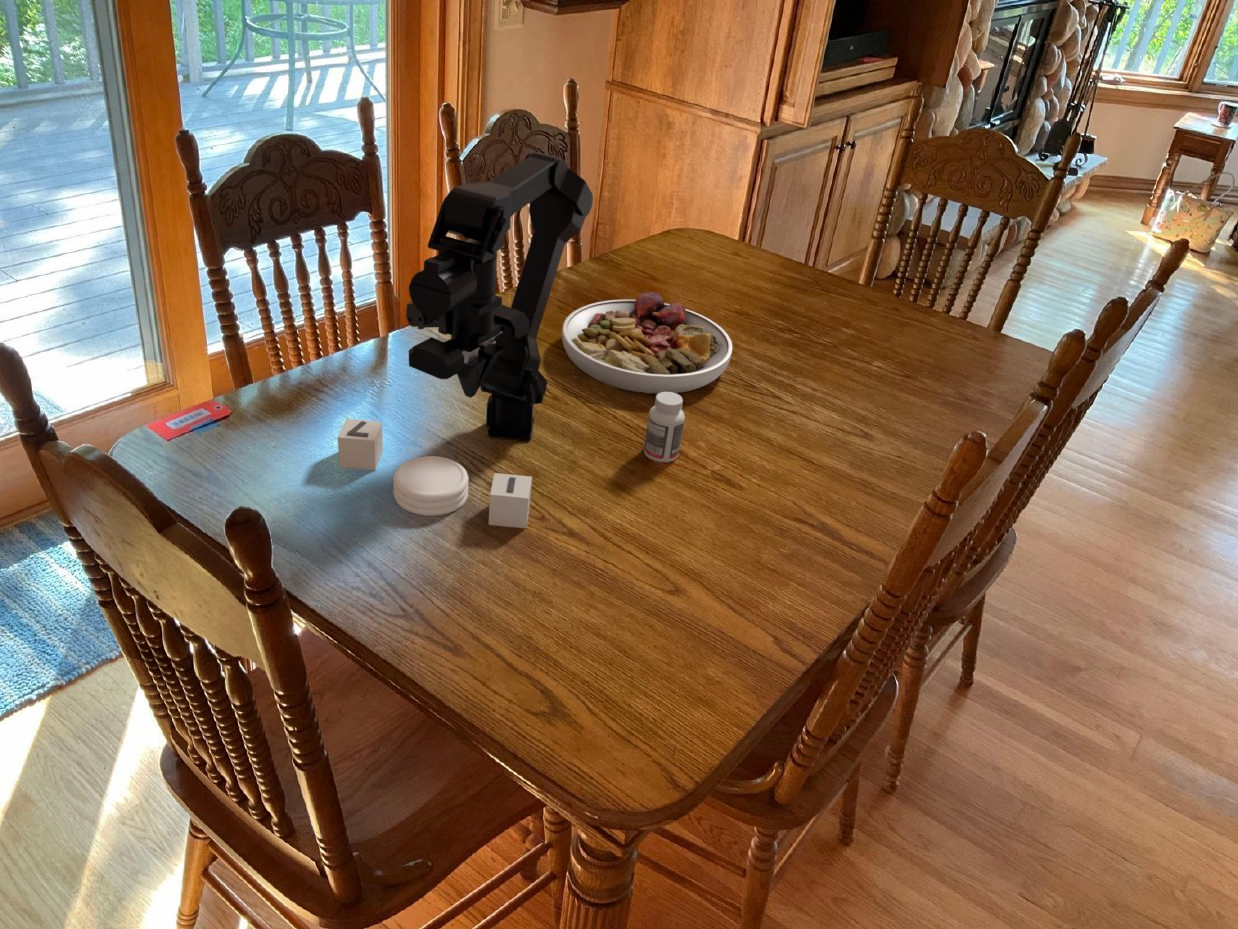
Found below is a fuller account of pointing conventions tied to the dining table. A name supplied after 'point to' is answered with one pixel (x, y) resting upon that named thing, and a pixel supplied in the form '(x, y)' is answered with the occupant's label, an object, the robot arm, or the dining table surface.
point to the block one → (510, 500)
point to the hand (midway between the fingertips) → (469, 395)
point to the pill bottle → (664, 428)
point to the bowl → (646, 345)
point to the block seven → (360, 444)
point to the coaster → (430, 486)
